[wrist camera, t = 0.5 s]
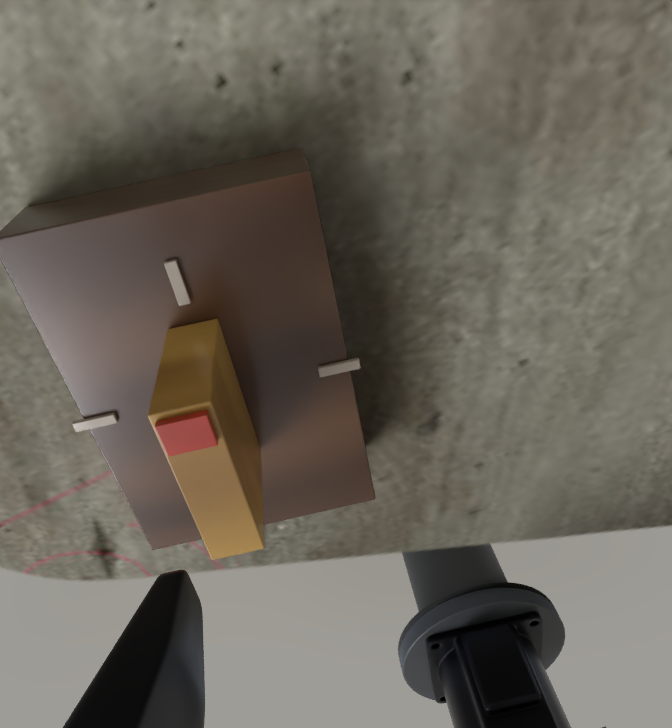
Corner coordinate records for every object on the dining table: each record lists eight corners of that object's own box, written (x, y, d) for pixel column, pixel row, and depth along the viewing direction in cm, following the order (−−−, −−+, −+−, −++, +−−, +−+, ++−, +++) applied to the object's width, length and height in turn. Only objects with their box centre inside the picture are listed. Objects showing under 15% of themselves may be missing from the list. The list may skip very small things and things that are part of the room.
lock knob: (261, 450, 21) (265, 555, 17) (217, 460, 21) (211, 567, 17) (217, 317, 18) (210, 407, 14) (167, 328, 18) (145, 421, 14)
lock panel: (370, 448, 26) (385, 500, 23) (153, 498, 26) (143, 556, 23) (312, 144, 19) (323, 168, 16) (13, 209, 19) (-26, 244, 16)
